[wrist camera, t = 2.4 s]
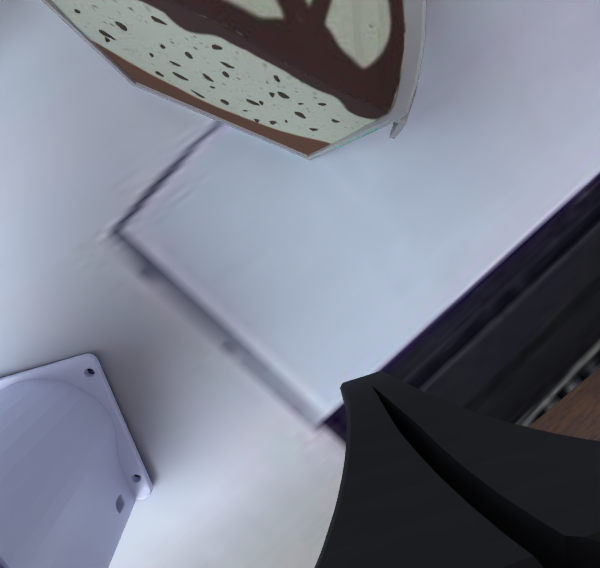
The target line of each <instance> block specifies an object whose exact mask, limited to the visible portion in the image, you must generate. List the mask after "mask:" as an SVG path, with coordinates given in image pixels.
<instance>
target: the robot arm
mask: <svg viewBox="0 0 600 568" xmlns="http://www.w3.org/2000/svg"><path fill="white" fill-rule="evenodd" d="M88 368H90V369H93V370H94V373H95V374H90V373H89V372H88ZM340 389H341V393H342V397H343V400H344V404H345V408H346V413H347V438H346V453H345V461H344V468H343V474H342V480H341V484H340V489H339V494H338V498H337V502H336V506H335V510H334V514H333V517H332V520H331V523H330V526H329V529H328V532H327V536H326V539H325V542H324V545H323V548H322V551H321V553H320V556H319V558H318V561H317V563H316V566H315V568H600V441H595V440H589V439H582V438H577V437H572V436H566V435H561V434H556V433H551V432H547V431H542V430H538V429H533V428H529V427H524V426H521V425H517V424H513V423H509V422H505V421H502V420H499V419H495V418H492V417H489V416H486V415H482V414H479V413H476V412H473V411H470V410H467V409H465V408H462V407H459V406H457V405H454V404H452V403H449V402H447V401H444V400H442V399H439V398H437V397H435V396H432V395H430V394H428V393H426V392H423V391H421V390H419V389H417V388H415V387H413V386H411V385H409V384H407V383H405V382H403V381H401V380H399V379H397V378H395V377H393V376H391V375H389V374H387V373H384V372H382V371H379V372H376V373H373V374H370V375H367V376H363V377H360V378H357V379H354V380H351V381H347V382H344V383H343V384H342V385H341V387H340ZM134 475H139V476H140V477H135V476H134ZM152 489H153V486H152V483H151V481H150V478H149V476H148V474H147V471H146V469H145V467H144V464H143V462H142V460H141V458H140V455H139V453H138V451H137V448H136V446H135V444H134V441H133V439H132V437H131V434H130V432H129V430H128V428H127V425H126V423H125V421H124V418H123V416H122V414H121V411H120V409H119V407H118V404H117V402H116V400H115V398H114V395H113V393H112V391H111V388H110V386H109V384H108V381H107V379H106V377H105V374H104V372H103V370H102V368H101V365H100V363H99V361H98V359H97V357H96V356H95V355H93V354H89V353H88V354H83V355H79V356H76V357H72V358H69V359H65V360H62V361H58V362H55V363H51V364H48V365H45V366H41V367H38V368H34V369H31V370H27V371H24V372H20V373H17V374H13V375H10V376H6V377H3V378H0V568H108V567H109V564H110V562H111V560H112V557H113V555H114V552H115V550H116V547H117V545H118V543H119V540H120V538H121V535H122V533H123V530H124V528H125V525H126V523H127V521H128V518H129V516H130V513H131V511H132V508H133V506H134V504H135V502H136V501H139V500H142V499H145V498H147V497H149V496H150V495H151V492H152Z"/></svg>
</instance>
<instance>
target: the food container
mask: <svg viewBox="0 0 600 568" xmlns="http://www.w3.org/2000/svg"><path fill="white" fill-rule="evenodd" d="M42 1H43V2H44V3H45V4H46V5H47V6H48V7H49V8H50V9H51V10H53V11H54V12H55V13H56V14H57V15H58V16H59V17H60V18H61V19H62V20H63V21H64V22H65V23H67V24H68V25H69V26H70V27H71V28H72V29H73V30H74V31H75V32H76V33H77V34H78V35H79V36H80V37H82V38H83V39H84V40H85V41H86V42H87V43H88V44H89V45H90V46H91V47H92V48H93V49H94V50H96V51H97V52H98V53H99V54H100V55H101V56H102V57H103V58H104V59H105V60H106V61H107V62H108V63H110V64H111V65H112V66H113V67H114V68H115V69H116V70H117V71H118V72H119V73H120V74H121V75H122V76H124V77H125V78H126V79H127V80H128V81H129V82H130V83H131V84H132V85H134V86H137V87H139V88H141V89H144V90H146V91H148V92H151V93H153V94H155V95H158V96H160V97H163V98H165V99H167V100H170V101H172V102H174V103H177V104H179V105H181V106H184V107H186V108H188V109H191V110H193V111H195V112H198V113H200V114H203V115H205V116H207V117H210V118H212V119H214V120H217V121H219V122H221V123H224V124H226V125H228V126H231V127H233V128H235V129H238V130H240V131H243V132H245V133H247V134H250V135H252V136H254V137H257V138H259V139H261V140H264V141H266V142H268V143H271V144H273V145H275V146H278V147H280V148H283V149H285V150H287V151H290V152H292V153H294V154H297V155H299V156H301V157H304V158H306V159H308V160H311V159H313V158H316V157H318V156H320V155H322V154H324V153H327V152H329V151H331V150H333V149H336V148H338V147H340V146H342V145H344V144H347V143H349V142H351V141H353V140H355V139H358V138H360V137H362V136H364V135H366V134H369V133H371V132H373V131H375V130H378V129H380V128H382V127H384V126H386V125H389V124H391V123H393V122H394V124H393V127H392V130H391V134H390V138H393V139H395V137H396V136H397V135H398V133H399V132H400V131H401V129H402V128H403V127H404V125H405V124H406V121H407V118H408V115H409V112H410V109H411V105H412V102H413V99H414V96H415V93H416V88H417V82H418V78H419V73H420V67H421V61H422V55H423V49H424V43H425V25H426V0H42Z"/></svg>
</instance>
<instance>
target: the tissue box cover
mask: <svg viewBox="0 0 600 568" xmlns="http://www.w3.org/2000/svg"><path fill="white" fill-rule="evenodd" d="M529 428H533V429H538V430H542V431H547V432H551V433H556V434H561V435H566V436H572V437H577V438H582V439H589V440H595V441H600V367H599V368H598V369H597V370H595V371H594V372H593V373H592V374H591V375H590V376H588V377H587V378H586V379H585V380H584V381H582V382H581V383H580V384H579V385H578V386H577V387H575V388H574V389H573V390H572V391H571V392H569V393H568V394H567V395H566V396H565V397H564V398H562V399H561V400H560V401H559V402H558V403H556V404H555V405H554V406H553V407H552V408H551V409H549V410H548V411H547V412H546V413H545V414H543V415H542V416H541V417H540V418H539V419H538V420H536V421H535V422H534V423H533V424H532V425H530V426H529Z"/></svg>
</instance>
